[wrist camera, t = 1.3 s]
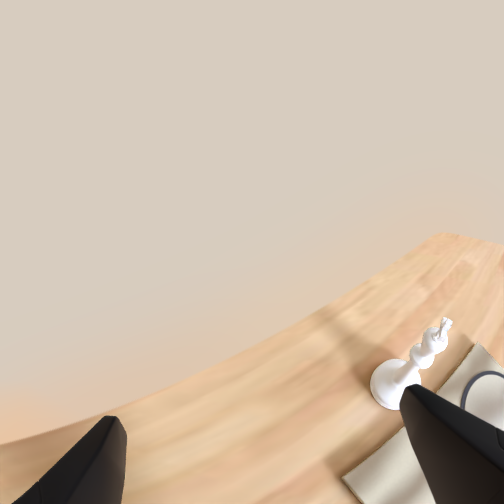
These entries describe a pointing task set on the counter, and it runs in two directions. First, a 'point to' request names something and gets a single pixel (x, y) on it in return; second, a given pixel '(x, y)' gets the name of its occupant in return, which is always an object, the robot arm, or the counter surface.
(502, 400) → the grey plate with ring
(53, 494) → the robot arm
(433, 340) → the chess piece
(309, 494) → the counter surface
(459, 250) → the counter surface
